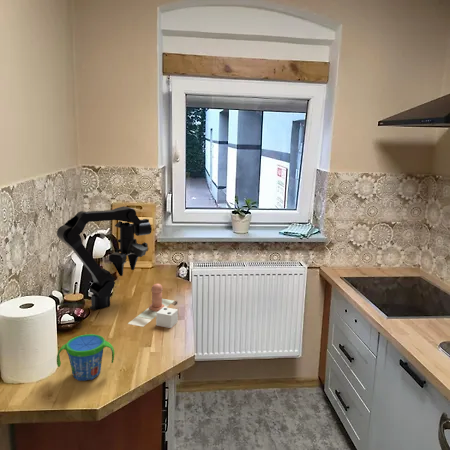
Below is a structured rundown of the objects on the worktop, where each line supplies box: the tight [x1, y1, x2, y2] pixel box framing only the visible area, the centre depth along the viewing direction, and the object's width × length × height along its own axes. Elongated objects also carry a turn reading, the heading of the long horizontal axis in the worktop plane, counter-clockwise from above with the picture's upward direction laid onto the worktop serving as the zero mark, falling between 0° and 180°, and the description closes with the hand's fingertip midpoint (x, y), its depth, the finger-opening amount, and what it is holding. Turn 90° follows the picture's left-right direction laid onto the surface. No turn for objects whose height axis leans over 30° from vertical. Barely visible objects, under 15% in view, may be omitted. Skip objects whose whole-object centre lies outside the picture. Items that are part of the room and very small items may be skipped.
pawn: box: [148, 283, 164, 312], centre depth 158 cm, size 6×6×10 cm
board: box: [127, 298, 178, 328], centre depth 156 cm, size 28×9×1 cm, turn 163°
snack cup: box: [56, 333, 115, 382], centre depth 112 cm, size 16×10×10 cm
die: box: [155, 307, 179, 329], centre depth 146 cm, size 6×6×6 cm
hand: (127, 272), depth 165 cm, fingers open, 9 cm apart
